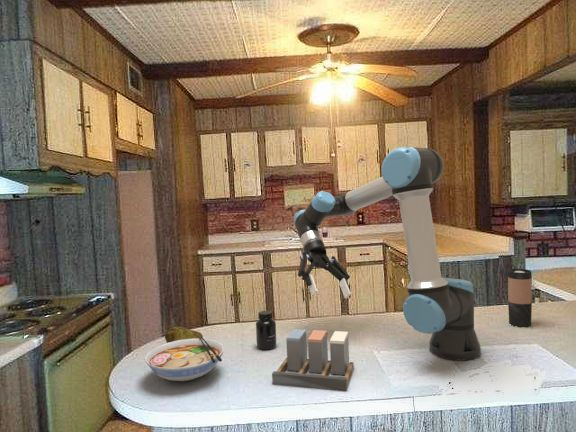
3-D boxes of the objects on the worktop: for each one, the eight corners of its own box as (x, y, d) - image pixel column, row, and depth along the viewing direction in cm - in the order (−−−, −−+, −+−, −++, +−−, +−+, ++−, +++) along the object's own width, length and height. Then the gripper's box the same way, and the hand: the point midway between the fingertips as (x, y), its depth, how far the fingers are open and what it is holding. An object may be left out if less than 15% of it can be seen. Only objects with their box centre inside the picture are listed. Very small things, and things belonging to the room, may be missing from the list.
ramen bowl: (143, 368, 134) (141, 342, 134) (215, 354, 143) (214, 330, 142) (149, 404, 111) (147, 373, 111) (235, 385, 120) (233, 356, 119)
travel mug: (536, 327, 154) (535, 272, 153) (514, 328, 154) (514, 273, 153) (524, 320, 162) (524, 268, 161) (504, 321, 162) (503, 269, 161)
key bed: (287, 363, 133) (286, 354, 133) (353, 368, 127) (353, 358, 127) (272, 384, 119) (271, 373, 119) (346, 390, 113) (345, 379, 113)
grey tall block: (336, 362, 131) (334, 331, 131) (349, 363, 130) (348, 331, 130) (331, 373, 124) (329, 340, 123) (345, 374, 123) (343, 341, 122)
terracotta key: (315, 361, 133) (314, 330, 133) (328, 362, 132) (326, 330, 131) (309, 372, 126) (307, 339, 125) (322, 373, 124) (321, 339, 124)
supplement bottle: (274, 351, 144) (272, 315, 143) (254, 350, 145) (252, 315, 144) (278, 343, 150) (277, 309, 149) (259, 342, 152) (258, 309, 151)
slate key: (295, 359, 135) (293, 328, 134) (307, 360, 134) (306, 329, 133) (287, 370, 127) (286, 337, 127) (300, 371, 126) (299, 338, 126)
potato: (205, 349, 148) (203, 326, 147) (166, 355, 144) (164, 332, 143) (202, 341, 155) (201, 320, 155) (165, 347, 152) (163, 325, 151)
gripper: (335, 256, 164) (355, 303, 150) (278, 248, 151) (294, 299, 137) (346, 243, 159) (367, 291, 145) (288, 234, 147) (305, 285, 133)
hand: (331, 295), depth 141 cm, fingers open, 13 cm apart
